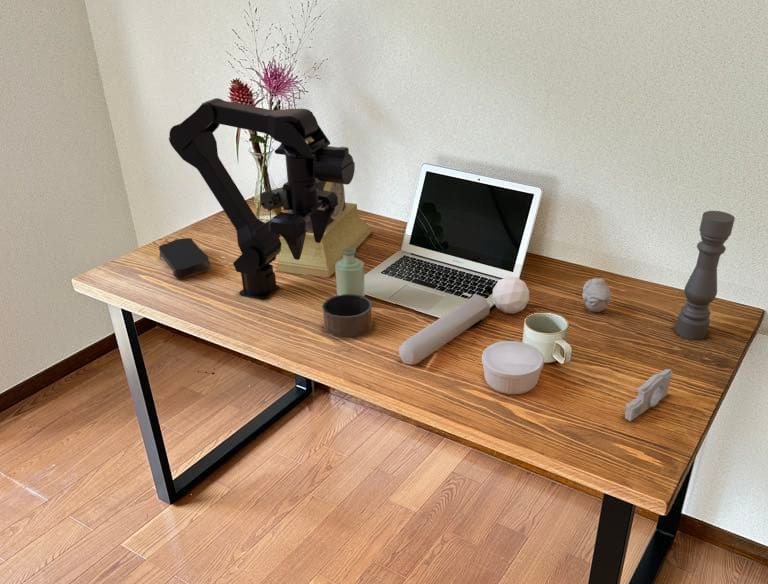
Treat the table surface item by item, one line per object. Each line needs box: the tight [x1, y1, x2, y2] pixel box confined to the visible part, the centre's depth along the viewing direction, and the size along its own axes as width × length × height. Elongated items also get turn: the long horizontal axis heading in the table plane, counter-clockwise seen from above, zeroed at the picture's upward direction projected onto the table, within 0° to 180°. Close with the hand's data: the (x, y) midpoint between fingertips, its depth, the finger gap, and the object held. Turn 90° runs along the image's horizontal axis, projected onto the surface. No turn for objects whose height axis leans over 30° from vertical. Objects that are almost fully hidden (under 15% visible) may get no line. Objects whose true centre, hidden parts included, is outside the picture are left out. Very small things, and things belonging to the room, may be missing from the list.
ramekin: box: [481, 340, 545, 395], centre depth 132 cm, size 11×11×5 cm
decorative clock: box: [276, 138, 372, 278], centre depth 172 cm, size 28×13×30 cm, turn 164°
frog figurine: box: [581, 277, 612, 313], centre depth 155 cm, size 6×7×7 cm
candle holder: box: [674, 210, 736, 340], centre depth 143 cm, size 6×6×25 cm
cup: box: [321, 294, 373, 339], centre depth 148 cm, size 10×10×5 cm
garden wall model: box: [624, 368, 674, 422], centre depth 125 cm, size 12×2×6 cm, turn 133°
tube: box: [397, 293, 491, 366], centre depth 144 cm, size 5×5×25 cm
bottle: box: [335, 248, 366, 298], centre depth 155 cm, size 6×6×12 cm
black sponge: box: [158, 237, 211, 280], centre depth 171 cm, size 16×8×4 cm, turn 33°
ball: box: [492, 276, 530, 314], centre depth 154 cm, size 8×8×8 cm
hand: (307, 250), depth 151 cm, fingers open, 9 cm apart
